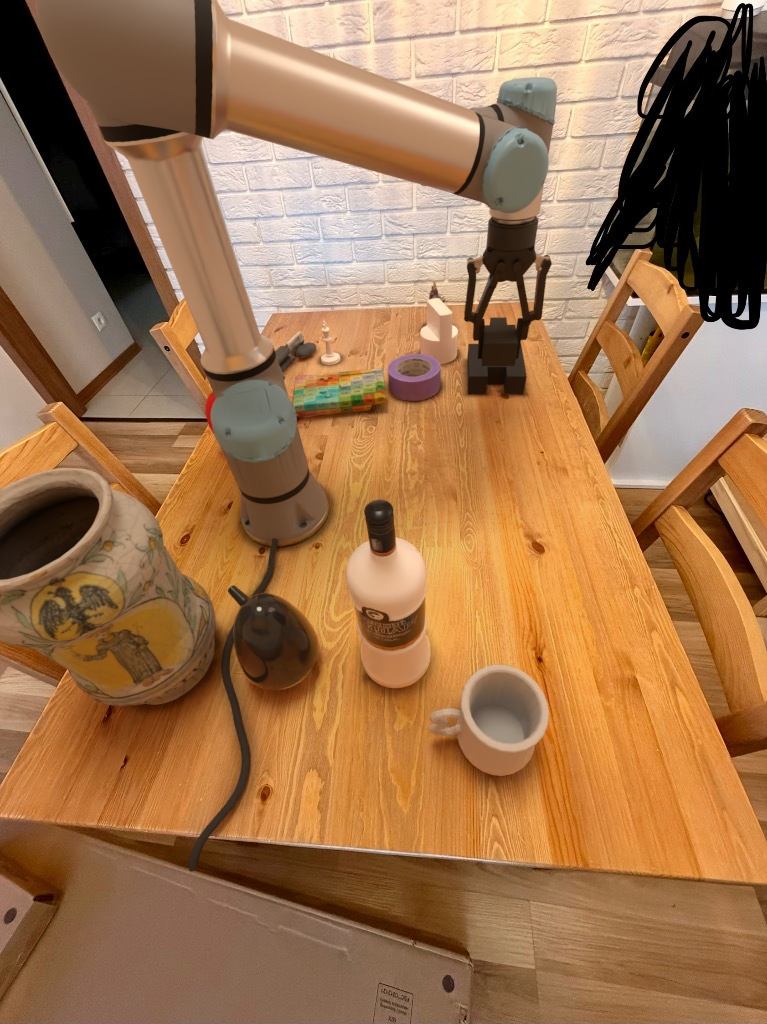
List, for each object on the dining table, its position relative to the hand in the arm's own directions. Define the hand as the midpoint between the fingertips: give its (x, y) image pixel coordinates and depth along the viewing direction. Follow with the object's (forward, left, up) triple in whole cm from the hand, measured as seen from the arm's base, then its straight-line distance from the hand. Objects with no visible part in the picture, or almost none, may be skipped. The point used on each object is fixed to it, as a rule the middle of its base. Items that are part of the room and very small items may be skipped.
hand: (497, 354), depth 88 cm
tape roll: (+9, +17, -13) cm, 23 cm away
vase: (-59, +47, -13) cm, 76 cm away
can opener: (+18, +49, -13) cm, 54 cm away
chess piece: (+21, +39, -13) cm, 46 cm away
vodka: (-56, +15, -13) cm, 59 cm away
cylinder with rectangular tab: (+23, +12, -13) cm, 29 cm away
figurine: (+36, +13, -13) cm, 41 cm away
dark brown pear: (-58, +30, -13) cm, 66 cm away
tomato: (-11, +51, -13) cm, 54 cm away
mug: (-65, +4, -13) cm, 66 cm away
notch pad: (+13, -1, -13) cm, 19 cm away
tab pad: (+1, 0, 0) cm, 1 cm away
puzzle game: (+3, +33, -13) cm, 35 cm away
